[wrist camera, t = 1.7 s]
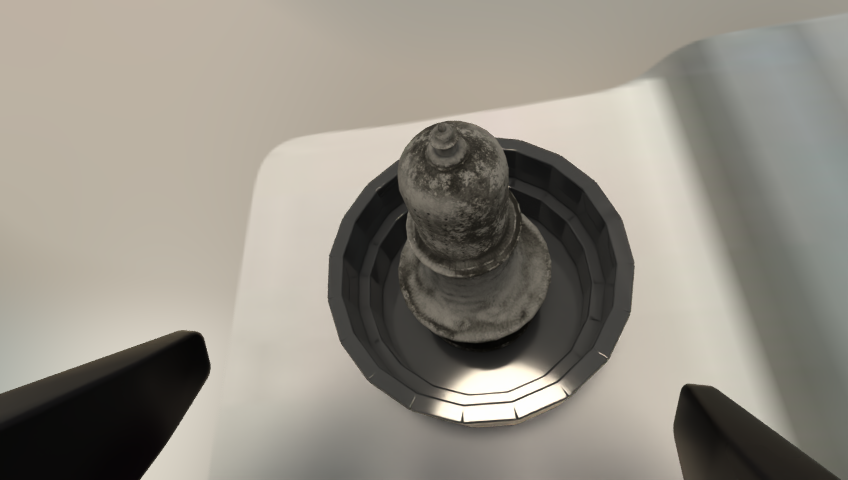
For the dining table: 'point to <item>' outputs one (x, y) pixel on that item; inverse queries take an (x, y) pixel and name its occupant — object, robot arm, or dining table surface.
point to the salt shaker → (468, 240)
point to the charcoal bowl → (543, 339)
